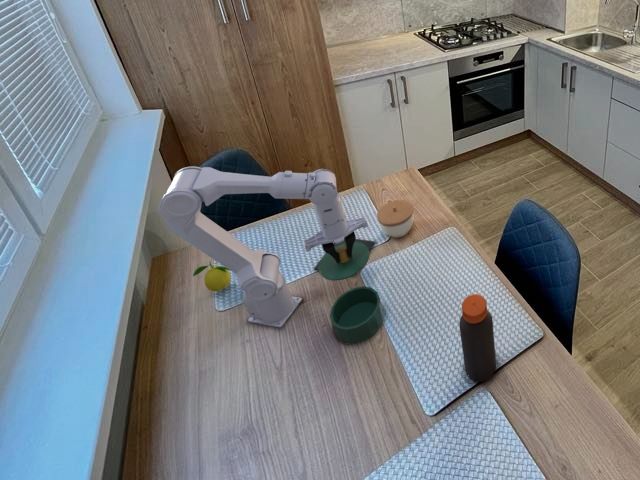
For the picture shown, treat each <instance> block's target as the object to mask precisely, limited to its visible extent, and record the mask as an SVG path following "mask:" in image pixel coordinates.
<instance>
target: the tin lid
mask: <svg viewBox="0 0 640 480" xmlns="http://www.w3.org/2000/svg"><path fill="white" fill-rule="evenodd" d="M335 250H336V252H337V255H338V258H339V261H340V263H337V262H336V260H335V259H334V258H333V257H332V256H331V255H330V254H328V253H326V252H325V253H324V255H323V256H322V258H320V260H321V261H320V260H319V261H320V264H319V270H318V272H319V275H320V276H321V277H322V278H324V279H325V280H328V281H343V280H346V279H349V278H351V277H353V276H355V275H357V274H358V273H359V272H361V271H362V270H363V269H364V268H365V267H366V265H367V264H368V261H369V259H370V251H369V249H368V247H367V246H366V245H364V244H363V243H360V242H354V244H353V249H352V257H351V258H349V255H348V251H347V248H346V243H342V244H340V245H338V246H336V247H335Z"/></svg>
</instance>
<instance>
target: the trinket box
mask: <svg viewBox="0 0 640 480" xmlns="http://www.w3.org/2000/svg"><path fill="white" fill-rule="evenodd" d="M414 212H415V211H414V206H413V203H411V202H409V201H408V200H404V199H395V200H391V201H388V202H386V203H385V204H383V205H382V206H381V207H380V208H379V209H378V211H377V212H376V219H377V221H378V224H379V227H380V229H381V231H382V232H383V234H385V235H386V236H388V237H391V238H394V239H398V238H402V237H404V236H406V235H407V234H408V233H409V231H410V230H411V229H412V227H413V225H414V220H415V213H414Z"/></svg>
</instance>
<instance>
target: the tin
mask: <svg viewBox="0 0 640 480" xmlns="http://www.w3.org/2000/svg"><path fill="white" fill-rule="evenodd" d="M329 318H330V323H331V325H332V327H333V331H334V334H335V336H336V338H337V340H338V341H340V342H341V343H343V344H347V345H355V344H356V345H357V344H360V343H363V342H365V341H367V340H368V339H370V338H371V337H373V336H374V335H375V334H376V333H377V332H378V331H379V329H380V328H381V326H382V324H383V321H384V307H383V304H382V300H381V297H380V295H379V292H378V291H377V290H376V289H375V288H372V287H370V286H363V285H362V286H358V287H357V286H356V287H353V288H351V289H349V290H347V291H345V292H343V293H342V294H341V295H340V296H339V297H338V298H337V299H336V300H335V302H334V303H333V304H332V306H331V309H330V313H329Z"/></svg>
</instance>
